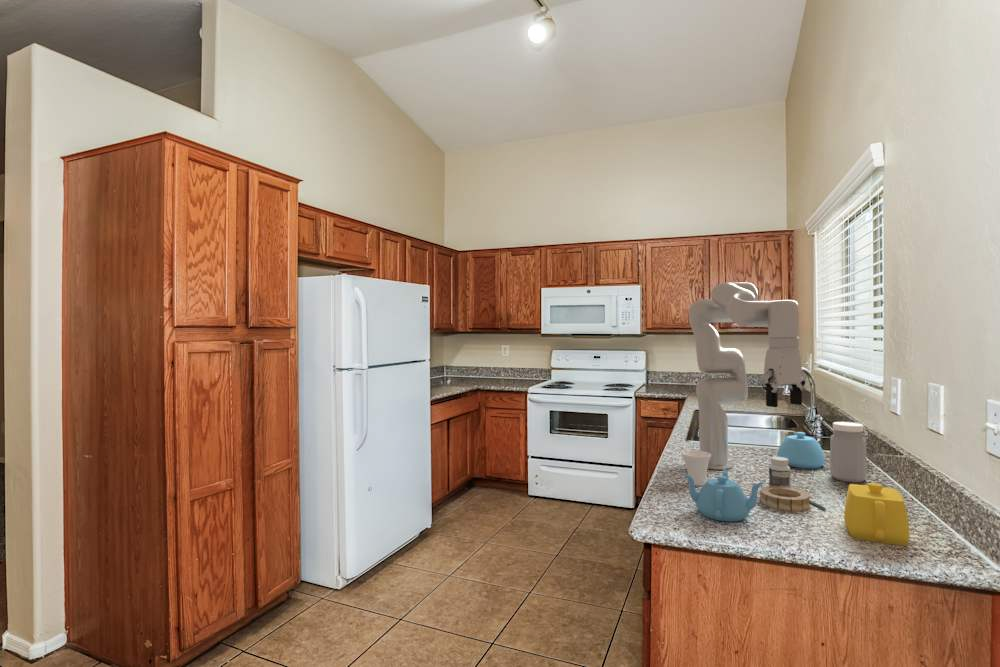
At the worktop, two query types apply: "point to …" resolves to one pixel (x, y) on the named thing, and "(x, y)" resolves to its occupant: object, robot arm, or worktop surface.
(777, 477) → the pill bottle
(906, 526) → the teapot
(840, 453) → the jar
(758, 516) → the worktop surface
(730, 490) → the teapot
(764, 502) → the segmented tan ring
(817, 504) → the green stick
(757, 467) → the worktop surface
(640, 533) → the worktop surface
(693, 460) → the cup
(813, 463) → the sugar bowl
